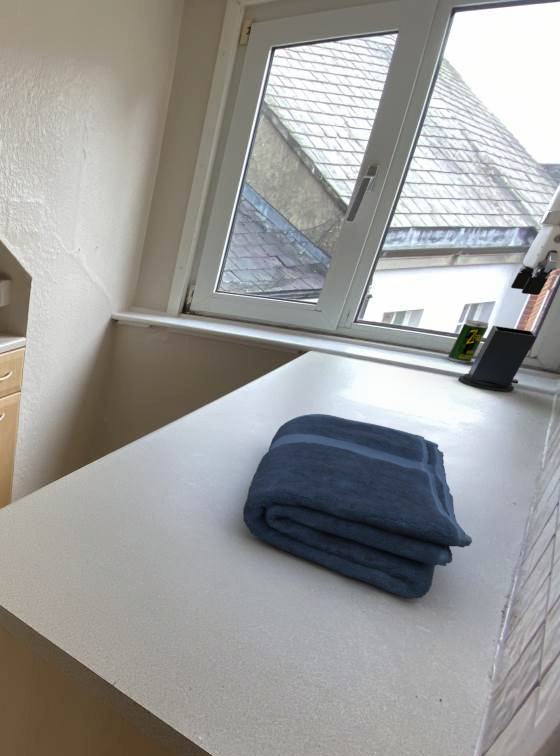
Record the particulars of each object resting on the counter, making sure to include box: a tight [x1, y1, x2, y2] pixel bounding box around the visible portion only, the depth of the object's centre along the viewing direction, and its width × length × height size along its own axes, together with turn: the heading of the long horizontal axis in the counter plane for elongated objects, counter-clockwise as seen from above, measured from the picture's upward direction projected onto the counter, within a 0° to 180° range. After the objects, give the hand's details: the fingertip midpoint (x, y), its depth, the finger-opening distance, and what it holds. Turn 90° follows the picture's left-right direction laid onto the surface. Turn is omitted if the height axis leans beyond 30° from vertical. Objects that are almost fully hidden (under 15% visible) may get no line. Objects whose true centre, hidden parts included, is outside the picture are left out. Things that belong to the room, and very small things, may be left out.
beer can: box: [447, 319, 489, 364], centre depth 166 cm, size 5×5×12 cm
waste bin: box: [463, 325, 538, 388], centre depth 144 cm, size 10×10×14 cm
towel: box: [242, 413, 473, 600], centre depth 85 cm, size 24×43×10 cm, turn 142°
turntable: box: [457, 375, 515, 393], centre depth 148 cm, size 11×11×1 cm
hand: (524, 291), depth 142 cm, fingers open, 9 cm apart
